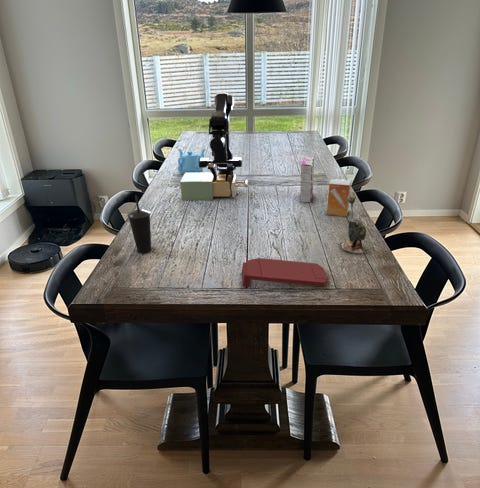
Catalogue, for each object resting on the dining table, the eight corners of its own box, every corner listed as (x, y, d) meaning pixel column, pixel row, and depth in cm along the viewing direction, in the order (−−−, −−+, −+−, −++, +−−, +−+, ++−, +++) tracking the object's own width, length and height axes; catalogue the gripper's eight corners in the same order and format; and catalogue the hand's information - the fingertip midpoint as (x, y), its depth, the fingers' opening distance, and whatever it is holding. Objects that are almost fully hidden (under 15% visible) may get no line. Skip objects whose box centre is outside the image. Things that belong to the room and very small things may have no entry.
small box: (326, 215, 182) (328, 183, 175) (328, 209, 187) (331, 178, 180) (346, 216, 179) (350, 184, 173) (348, 211, 185) (351, 180, 178)
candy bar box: (301, 193, 204) (303, 157, 196) (312, 194, 203) (314, 157, 195) (299, 202, 195) (301, 164, 186) (311, 203, 194) (313, 164, 185)
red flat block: (317, 277, 146) (241, 270, 143) (321, 263, 143) (243, 256, 141) (325, 296, 135) (243, 289, 133) (329, 282, 133) (245, 275, 130)
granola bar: (226, 181, 207) (226, 174, 205) (225, 186, 200) (225, 179, 198) (217, 181, 207) (217, 174, 205) (216, 186, 200) (215, 179, 198)
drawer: (248, 188, 210) (248, 174, 207) (247, 197, 200) (247, 182, 196) (209, 188, 211) (208, 174, 208) (206, 197, 201) (205, 182, 197)
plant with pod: (346, 258, 149) (353, 200, 139) (337, 243, 159) (343, 188, 148) (370, 256, 149) (378, 198, 139) (360, 242, 159) (367, 187, 149)
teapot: (174, 175, 234) (172, 155, 229) (180, 166, 247) (178, 147, 242) (202, 175, 233) (201, 155, 228) (206, 166, 246) (205, 147, 241)
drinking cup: (145, 257, 154) (136, 200, 143) (128, 252, 157) (119, 197, 147) (159, 248, 159) (152, 193, 149) (143, 243, 163) (135, 190, 152)
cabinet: (215, 190, 212) (214, 172, 208) (212, 199, 201) (211, 181, 196) (186, 190, 213) (185, 172, 209) (181, 200, 201) (180, 181, 197)
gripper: (242, 141, 201) (243, 175, 209) (200, 142, 202) (203, 176, 210) (241, 147, 192) (241, 183, 200) (197, 148, 193) (200, 183, 201)
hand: (221, 181), depth 203 cm, fingers closed on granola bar, 4 cm apart
